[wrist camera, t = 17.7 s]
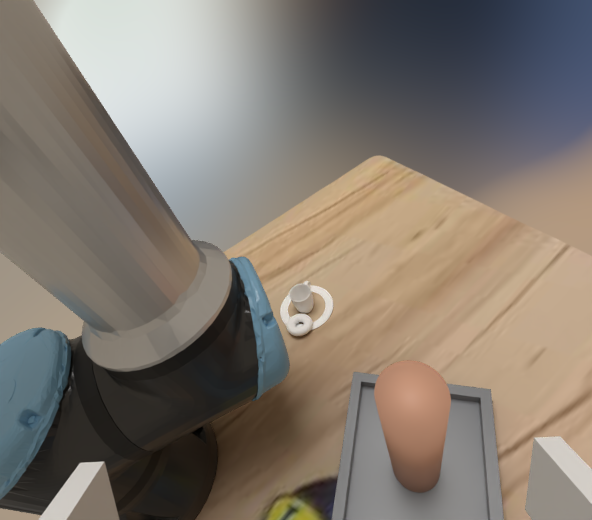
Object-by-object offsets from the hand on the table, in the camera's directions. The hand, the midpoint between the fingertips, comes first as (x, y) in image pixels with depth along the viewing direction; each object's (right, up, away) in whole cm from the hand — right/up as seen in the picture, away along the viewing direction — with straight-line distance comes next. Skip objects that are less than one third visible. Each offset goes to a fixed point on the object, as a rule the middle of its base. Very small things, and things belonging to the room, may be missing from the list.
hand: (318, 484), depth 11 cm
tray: (+11, -14, +24) cm, 30 cm away
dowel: (+11, -13, +23) cm, 29 cm away
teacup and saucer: (-2, -1, +41) cm, 41 cm away
